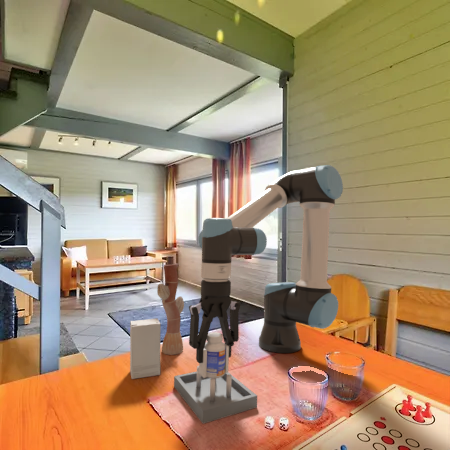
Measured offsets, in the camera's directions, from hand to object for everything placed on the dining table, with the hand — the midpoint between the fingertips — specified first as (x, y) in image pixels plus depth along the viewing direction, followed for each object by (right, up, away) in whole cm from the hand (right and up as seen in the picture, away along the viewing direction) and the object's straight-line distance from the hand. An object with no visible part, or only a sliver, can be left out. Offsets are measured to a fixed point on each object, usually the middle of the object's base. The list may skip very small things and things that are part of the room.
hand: (213, 372), depth 77 cm
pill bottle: (0, -1, 0) cm, 1 cm away
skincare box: (-20, -6, +11) cm, 24 cm away
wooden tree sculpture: (-16, -7, +29) cm, 34 cm away
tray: (0, -6, 0) cm, 6 cm away
